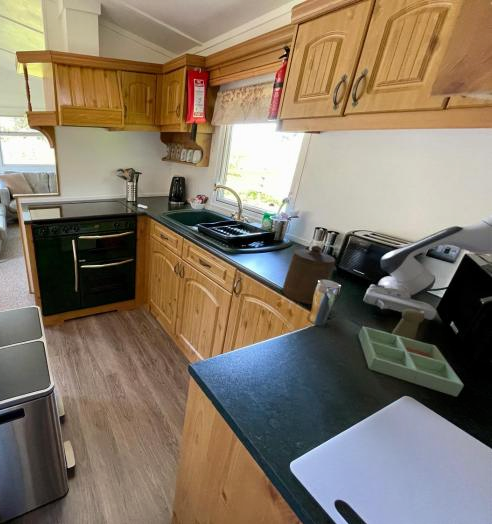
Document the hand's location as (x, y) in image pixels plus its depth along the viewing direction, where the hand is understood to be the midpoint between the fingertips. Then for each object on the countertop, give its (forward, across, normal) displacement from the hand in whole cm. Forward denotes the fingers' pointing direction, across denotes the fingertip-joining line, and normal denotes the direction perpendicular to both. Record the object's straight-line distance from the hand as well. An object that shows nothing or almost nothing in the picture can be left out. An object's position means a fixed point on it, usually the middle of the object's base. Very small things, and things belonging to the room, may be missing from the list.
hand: (401, 312), depth 100 cm
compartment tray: (+24, +1, -6) cm, 25 cm away
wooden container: (-5, +30, -6) cm, 31 cm away
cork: (+9, -1, -6) cm, 11 cm away
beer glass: (+15, +24, -6) cm, 29 cm away
